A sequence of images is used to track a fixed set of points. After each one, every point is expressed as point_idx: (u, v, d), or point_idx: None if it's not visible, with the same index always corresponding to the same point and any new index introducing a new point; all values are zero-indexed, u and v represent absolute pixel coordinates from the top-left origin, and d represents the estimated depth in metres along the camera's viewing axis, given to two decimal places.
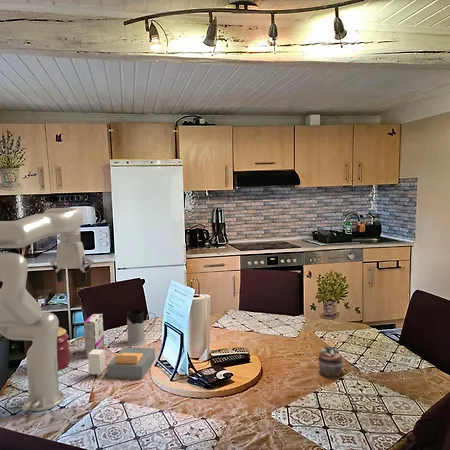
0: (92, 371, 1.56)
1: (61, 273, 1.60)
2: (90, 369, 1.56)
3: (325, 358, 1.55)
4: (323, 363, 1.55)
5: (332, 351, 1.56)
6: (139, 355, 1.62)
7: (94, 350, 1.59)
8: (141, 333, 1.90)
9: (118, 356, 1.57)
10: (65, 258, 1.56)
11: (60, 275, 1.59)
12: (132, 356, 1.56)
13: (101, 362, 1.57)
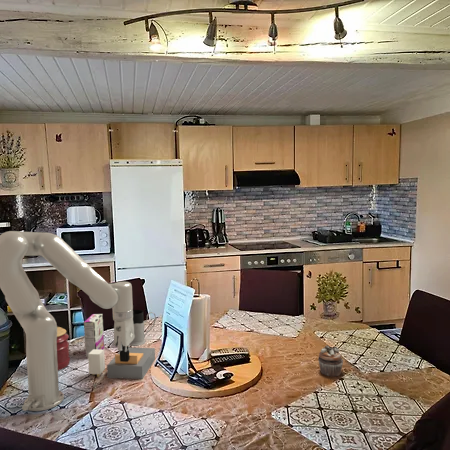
0: (92, 371, 1.56)
1: None
2: (90, 369, 1.56)
3: (325, 358, 1.55)
4: (323, 363, 1.55)
5: (332, 351, 1.56)
6: (139, 355, 1.63)
7: (94, 350, 1.59)
8: (141, 333, 1.90)
9: (118, 356, 1.57)
10: (129, 333, 1.53)
11: None
12: (132, 356, 1.56)
13: (101, 362, 1.57)
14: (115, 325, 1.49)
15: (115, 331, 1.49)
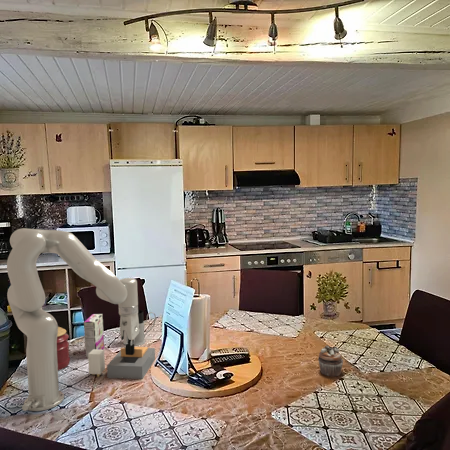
0: (92, 371, 1.56)
1: None
2: (90, 369, 1.56)
3: (325, 358, 1.55)
4: (323, 363, 1.55)
5: (332, 351, 1.56)
6: (144, 349, 1.69)
7: (94, 350, 1.59)
8: (141, 333, 1.90)
9: (124, 350, 1.63)
10: (135, 328, 1.59)
11: None
12: (137, 350, 1.63)
13: (101, 362, 1.57)
14: (121, 320, 1.56)
15: (121, 325, 1.56)
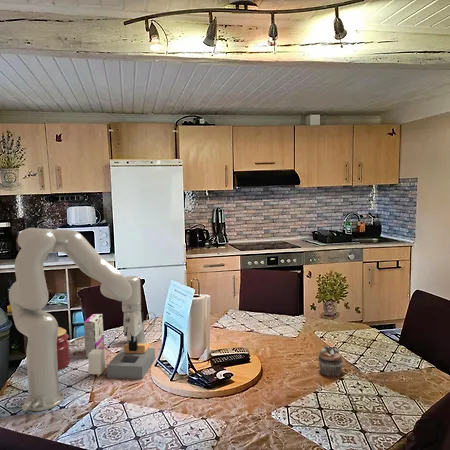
0: (92, 371, 1.56)
1: None
2: (90, 369, 1.56)
3: (325, 358, 1.55)
4: (323, 363, 1.55)
5: (332, 351, 1.56)
6: (146, 345, 1.73)
7: (94, 350, 1.59)
8: (141, 333, 1.90)
9: (127, 346, 1.67)
10: (138, 325, 1.63)
11: None
12: (140, 346, 1.67)
13: (101, 362, 1.57)
14: (124, 316, 1.60)
15: (124, 322, 1.59)
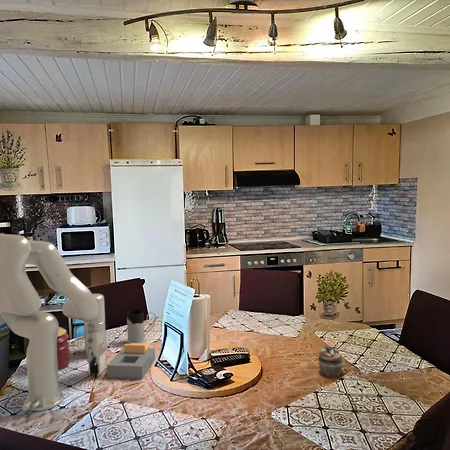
0: None
1: None
2: None
3: (325, 358, 1.55)
4: (323, 363, 1.55)
5: (332, 351, 1.56)
6: (146, 345, 1.73)
7: None
8: (141, 333, 1.90)
9: (127, 346, 1.67)
10: (101, 345, 1.56)
11: None
12: (140, 346, 1.67)
13: (101, 362, 1.57)
14: (87, 337, 1.53)
15: (87, 342, 1.53)
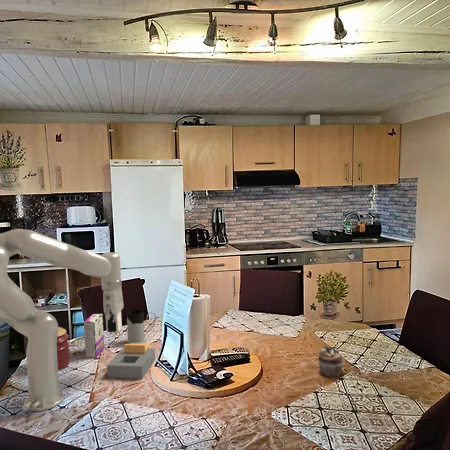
0: None
1: None
2: None
3: (325, 358, 1.55)
4: (323, 363, 1.55)
5: (332, 351, 1.56)
6: (146, 345, 1.73)
7: None
8: (141, 333, 1.90)
9: (127, 346, 1.67)
10: (118, 302, 1.57)
11: None
12: (140, 346, 1.67)
13: (118, 320, 1.58)
14: (104, 294, 1.53)
15: (104, 300, 1.53)
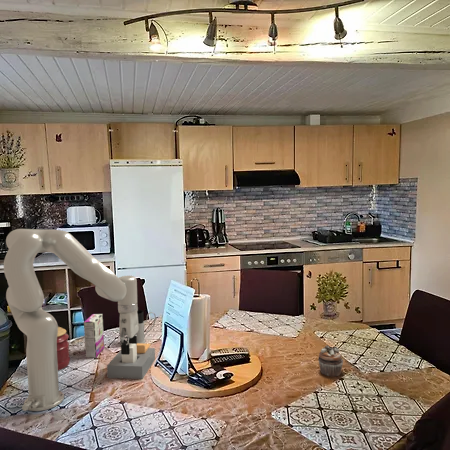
0: None
1: None
2: None
3: (325, 358, 1.55)
4: (323, 363, 1.55)
5: (332, 351, 1.56)
6: (146, 345, 1.73)
7: None
8: (141, 333, 1.90)
9: None
10: (134, 325, 1.59)
11: None
12: (140, 346, 1.67)
13: (134, 356, 1.60)
14: (120, 317, 1.55)
15: (120, 323, 1.55)
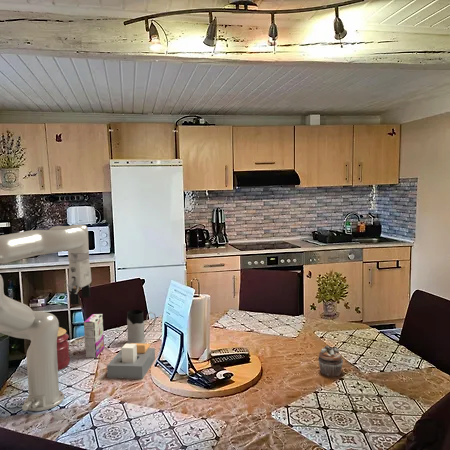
0: None
1: None
2: None
3: (325, 358, 1.55)
4: (323, 363, 1.55)
5: (332, 351, 1.56)
6: (146, 345, 1.73)
7: (127, 344, 1.62)
8: (141, 333, 1.90)
9: None
10: (85, 276, 1.53)
11: None
12: (140, 346, 1.67)
13: (134, 356, 1.60)
14: (70, 266, 1.50)
15: (70, 272, 1.50)
